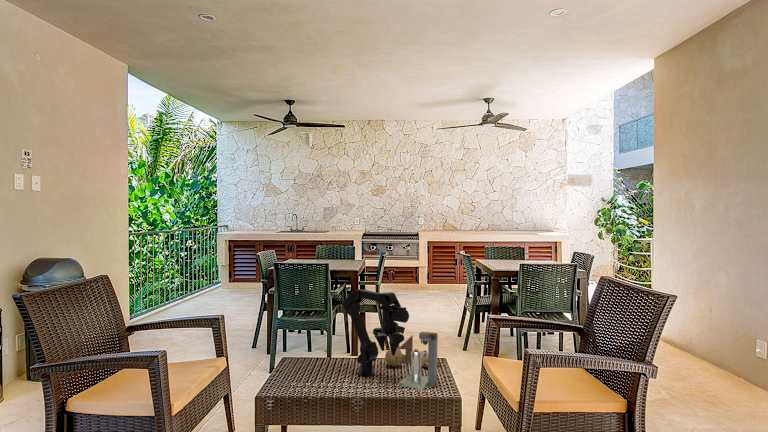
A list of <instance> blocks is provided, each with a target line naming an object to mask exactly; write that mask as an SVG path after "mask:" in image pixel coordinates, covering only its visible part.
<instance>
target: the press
mask: <svg viewBox="0 0 768 432" xmlns="http://www.w3.org/2000/svg"><path fill="white" fill-rule="evenodd" d="M418 338H419V340H420V344H423V345H424V346H426V345H427V346H428V348H427V349H428V351H427V353H428V368H427V372H428V373H427V374H428V375H427V376H425V375H421V381H419V382H414V381H411V373H409V374H408V375H406V376H405V377H404V378H403V379H401V380H400V381H399V382H398V386H401V387H406V388H412V389H417V390H418V389H419V390H424V389H426V388H427V387H430V388H431V387H432V388H435V387H436V386H437V385H438V365H437V361H438V333H436V332H429V331H420V332H419V333H418Z"/></svg>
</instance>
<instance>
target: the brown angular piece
mask: <svg viewBox="0 0 768 432" xmlns="http://www.w3.org/2000/svg"><path fill="white" fill-rule="evenodd" d="M397 333H399V332H397ZM397 333H394V334H397ZM399 334H401V333H399ZM413 337H414V336H413V334H412V335H410V337H408V339H406V340H405V341H404V343H403V342H402V344H401V345H400V344H399V345H398V347H397V348H398V349H400V350H405V354H403V353H402V355H403V356H402V360H401V362H400V363H404V364H405V363H406V364H411V351H414V349H413V347H414V346H413V345H414V343H413V340H414V339H413Z"/></svg>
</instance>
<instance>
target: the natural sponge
mask: <svg viewBox="0 0 768 432" xmlns="http://www.w3.org/2000/svg"><path fill="white" fill-rule="evenodd" d="M402 354H403V352H402V349H398V348H397V350H396V353H395V355H392V353H391V348H390V347H389V348H388V350H386V352H385V356H384V359H385V361H386V363H387V364H389V365H390V366H391V367H393V368H394V367H395V368H396V367H397V366H399V365H400V364H401V363H402V362H401V360H402V356H403V355H404V354H403V355H402Z"/></svg>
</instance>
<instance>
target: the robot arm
mask: <svg viewBox="0 0 768 432" xmlns="http://www.w3.org/2000/svg"><path fill="white" fill-rule="evenodd" d="M364 299H365V300H368V301H374V302H376V303H378V305H380V306H379V307H378V310H380V311H381V312H382V313H381V318H382V319H381V321H380V322H379V323H380V325H382V327H376V328H375V327H374V329H373V330H372V334H373V335H374V337H375V339H376V341H377V343H378V346H379V347H380V350H381V351H382V352H383V351H385V347H386V343H385V342H386V338H388V343H389V349H390V348H391V353H392V355H395V353H396V350H397V347H398V345H399V346H400V344H401V343H403V342H405V336H404V332H405V329H406V327H404V326H402V325H399V323H404V324H406V323H407V322H409V319H410V313H409V311H408V309H407V307H405V306H403V307H402V305H401V303H400V301H399V299H398V298H397V296H396V293H394V292H378V291H372V290H369V289H368V290H367V289H364V288H360V289H359V288H358V289H356V290H354V292H352V293H351V294H350V295H348V296H347V297H346V298H344V299H343V301H342V303H341V304H342V307H343V309H344V311H345V313H347V315H348V316H350V319H351V321H352V324H353V326H354V330H355V332H356V335H357V337H358V341H359V343H360V344H359V345H360V346H359V352H360V354H359V355H358V356H357V357H356V362H357V364H360V371H359V372H357V374H358V375H360V376H361V377H362V378H367V377H371V376H376V373H375V372H374V371H373V369H374V367H373V362H376V360H377V357H378V356H379V347H378V346H377V343H376V341H372V340H371V339H370V336H369V334H368V330H367V329H366V325H365V323H364V321H363V318H362V315H361V313H360V312H361V303H362V301H363V300H364ZM398 322H399V323H398ZM397 332H399V333H400V334H399V333H397ZM394 333H397V334H394Z"/></svg>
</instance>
